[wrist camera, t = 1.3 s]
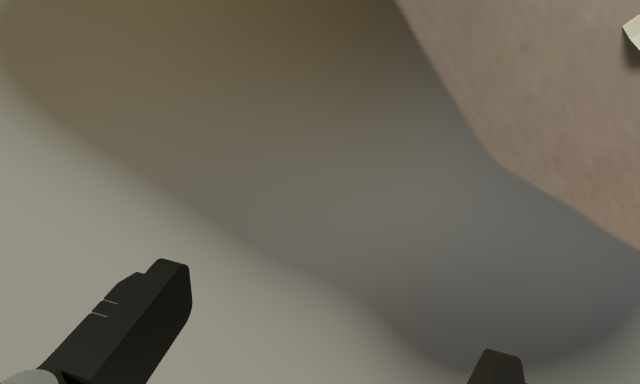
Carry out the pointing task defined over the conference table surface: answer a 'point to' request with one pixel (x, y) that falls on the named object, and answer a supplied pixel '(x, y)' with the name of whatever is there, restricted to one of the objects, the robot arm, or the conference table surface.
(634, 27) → the rack
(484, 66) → the conference table surface
